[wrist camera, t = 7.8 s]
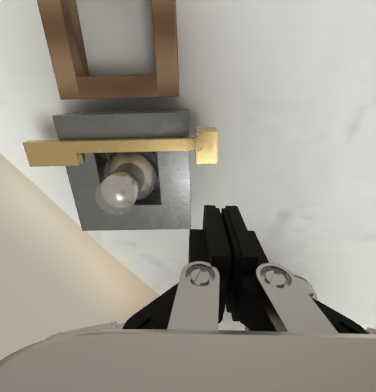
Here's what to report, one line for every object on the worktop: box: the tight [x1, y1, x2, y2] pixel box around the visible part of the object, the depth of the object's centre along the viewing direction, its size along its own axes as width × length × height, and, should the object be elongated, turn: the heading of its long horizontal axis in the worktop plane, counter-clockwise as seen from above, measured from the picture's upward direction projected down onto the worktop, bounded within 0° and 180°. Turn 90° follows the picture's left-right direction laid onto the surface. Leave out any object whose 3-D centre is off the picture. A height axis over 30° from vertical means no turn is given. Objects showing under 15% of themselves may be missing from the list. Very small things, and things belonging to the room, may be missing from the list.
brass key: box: [23, 127, 218, 167], centre depth 23 cm, size 3×20×3 cm, turn 92°
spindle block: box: [53, 110, 191, 231], centre depth 28 cm, size 14×14×4 cm
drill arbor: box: [95, 152, 159, 215], centre depth 25 cm, size 6×6×10 cm
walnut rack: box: [37, 0, 179, 100], centre depth 22 cm, size 12×12×4 cm
